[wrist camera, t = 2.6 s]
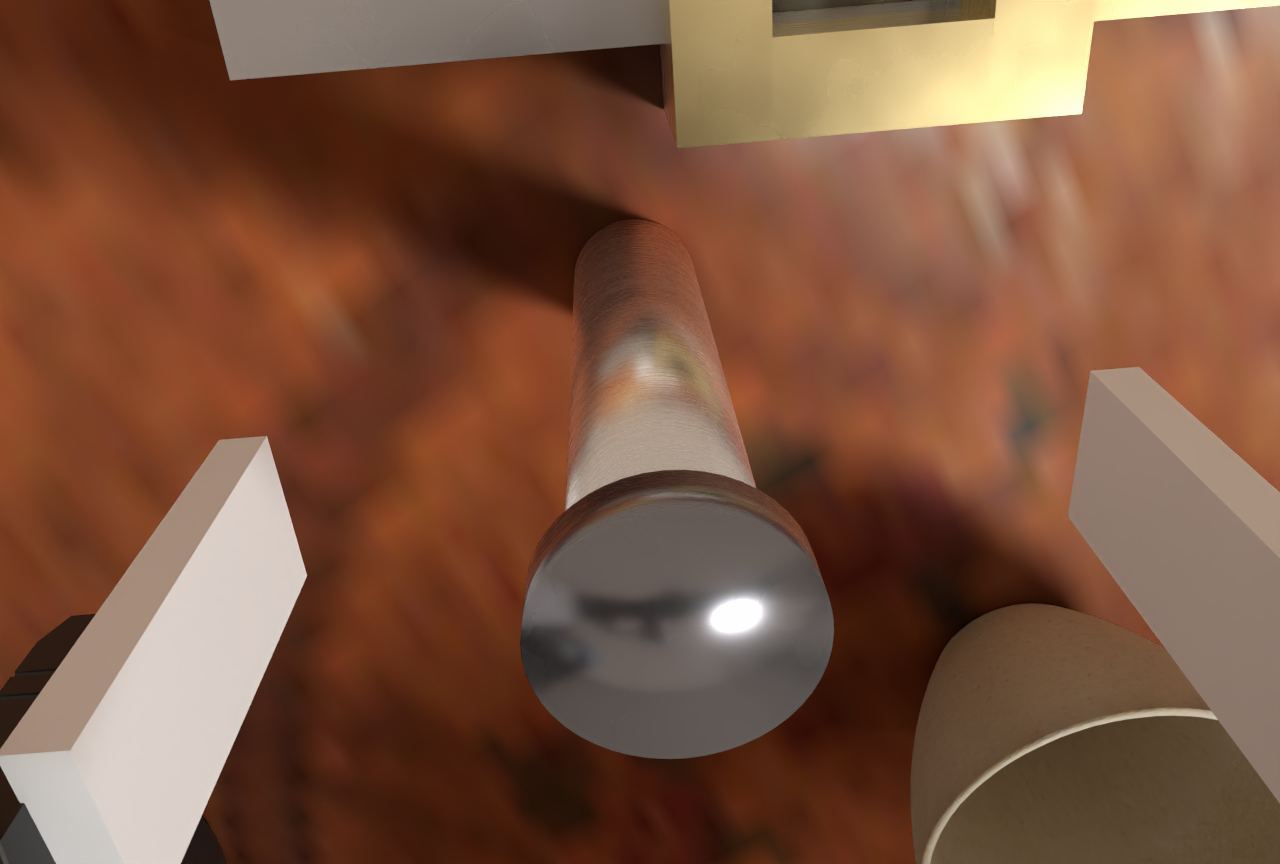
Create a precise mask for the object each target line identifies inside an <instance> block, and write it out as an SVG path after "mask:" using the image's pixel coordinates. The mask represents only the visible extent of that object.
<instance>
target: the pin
mask: <svg viewBox="0 0 1280 864" xmlns="http://www.w3.org/2000/svg"><path fill="white" fill-rule="evenodd" d="M833 638H834V620H833V612H832V608H831V603H830V599H829V596H828V593H827V590H826V587H825V585H824V582H823V579H822V576H821V573H820V570H819V567H818V564H817V561H816V558H815V555H814V553H813V550H812V548H811V545H810V543H809V541H808V538H807V537H806V535H805V533H804V532H803V530H802V528H801V527H800V525H799V524H798V523H797V521H796V520H795V519H794V518H793V517H792V516H791V514H790V513H789V512H788V511H787V510H786V509H785V508H783V507H782V506H781V505H780V504H779V503H778V502H777V501H775V500H774V499H773V498H771V497H770V496H768V495H767V494H765V493H763V492H762V491H760V490H759V489H757V488H756V485H755V482H754V478H753V475H752V471H751V468H750V464H749V461H748V457H747V453H746V450H745V446H744V443H743V439H742V436H741V432H740V429H739V425H738V422H737V418H736V415H735V411H734V408H733V404H732V401H731V397H730V394H729V390H728V386H727V383H726V379H725V376H724V372H723V369H722V365H721V362H720V358H719V355H718V351H717V348H716V344H715V341H714V337H713V334H712V330H711V327H710V323H709V320H708V316H707V312H706V309H705V305H704V302H703V298H702V295H701V291H700V288H699V284H698V281H697V277H696V274H695V270H694V267H693V263H692V260H691V257H690V254H689V252H688V250H687V248H686V246H685V245H684V243H683V242H682V241H681V240H680V238H679V237H678V236H677V235H675V234H674V233H673V232H672V231H671V230H669V229H668V228H666V227H664V226H662V225H660V224H658V223H655V222H652V221H648V220H642V219H628V220H621V221H618V222H614V223H612V224H610V225H607V226H605V227H604V228H602V229H600V230H599V231H598V232H596V233H595V234H594V235H593V236H592V237H591V238H590V239H589V240H588V241H587V243H586V244H585V245H584V247H583V248H582V250H581V252H580V254H579V257H578V259H577V262H576V267H575V275H574V300H573V326H572V351H571V377H570V402H569V428H568V453H567V479H566V504H565V512H564V513H563V514H562V515H561V516H559V517H558V518H557V519H556V521H555V522H554V523H553V524H552V525H551V527H550V528H549V529H548V530H547V531H546V533H545V534H544V536H543V538H542V539H541V541H540V542H539V544H538V546H537V547H536V550H535V552H534V554H533V557H532V559H531V561H530V565H529V569H528V573H527V577H526V585H525V596H524V607H523V618H522V629H521V640H520V645H521V657H522V662H523V666H524V670H525V674H526V676H527V678H528V681H529V683H530V685H531V687H532V689H533V691H534V693H535V694H536V696H537V697H538V699H539V700H540V702H541V703H542V704H543V706H544V707H545V708H546V709H547V710H548V711H549V713H550V714H551V715H552V716H553V717H555V718H556V719H557V720H558V721H559V722H560V723H561V724H562V725H564V726H565V727H566V728H568V729H569V730H571V731H572V732H574V733H575V734H577V735H578V736H580V737H582V738H584V739H586V740H588V741H590V742H592V743H594V744H596V745H599V746H601V747H604V748H606V749H609V750H612V751H616V752H619V753H623V754H627V755H632V756H638V757H645V758H657V759H681V758H692V757H699V756H706V755H710V754H715V753H719V752H723V751H726V750H729V749H732V748H735V747H738V746H741V745H743V744H745V743H748V742H750V741H752V740H754V739H756V738H759V737H760V736H762V735H764V734H765V733H767V732H769V731H771V730H772V729H774V728H775V727H777V726H778V725H779V724H781V723H782V722H783V721H785V720H786V719H787V718H789V717H790V716H791V715H792V714H793V713H794V712H795V711H796V710H797V709H798V708H799V707H800V706H802V704H803V703H804V702H805V701H806V700H807V698H808V697H809V696H810V695H811V694H812V692H813V691H814V689H815V688H816V686H817V684H818V683H819V681H820V680H821V678H822V676H823V673H824V671H825V669H826V667H827V664H828V662H829V658H830V654H831V651H832V647H833Z"/></svg>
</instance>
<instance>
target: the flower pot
mask: <svg viewBox="0 0 1280 864" xmlns="http://www.w3.org/2000/svg"><path fill="white" fill-rule="evenodd" d="M910 796H911V823H912V835H913V845H914V853H915V860H916V864H1280V803H1279V802H1278V800H1277V799H1276V798H1275V796H1274V795H1273V794H1272V792H1271V791H1270V789H1269V788H1268V787H1267V785H1266V784H1265V783H1264V781H1263V780H1262V779H1261V777H1260V776H1259V775H1258V773H1257V772H1256V771H1255V769H1254V768H1253V766H1252V765H1251V764H1250V762H1249V761H1248V760H1247V758H1246V757H1245V756H1244V754H1243V753H1242V752H1241V750H1240V749H1239V748H1238V746H1237V745H1236V743H1235V742H1234V741H1233V739H1232V738H1231V737H1230V735H1229V734H1228V733H1227V731H1226V730H1225V729H1224V727H1223V726H1222V724H1221V723H1220V722H1219V720H1218V719H1217V718H1216V716H1215V715H1214V714H1213V712H1212V711H1211V710H1210V708H1209V707H1208V706H1207V704H1206V703H1205V701H1204V700H1203V699H1202V697H1201V696H1200V695H1199V693H1198V692H1197V691H1196V689H1195V688H1194V687H1193V685H1192V684H1191V683H1190V681H1189V680H1188V678H1187V677H1186V676H1185V674H1184V673H1183V672H1182V670H1181V669H1180V668H1179V666H1178V665H1177V664H1176V662H1175V661H1174V660H1173V658H1172V657H1171V655H1170V654H1169V653H1168V651H1167V650H1166V649H1165V648H1163V647H1162V646H1160V645H1158V644H1156V643H1154V642H1152V641H1150V640H1148V639H1146V638H1144V637H1142V636H1140V635H1138V634H1136V633H1134V632H1132V631H1130V630H1127V629H1125V628H1122V627H1120V626H1118V625H1115V624H1113V623H1111V622H1108V621H1106V620H1103V619H1100V618H1097V617H1094V616H1091V615H1088V614H1085V613H1082V612H1078V611H1074V610H1071V609H1067V608H1063V607H1059V606H1054V605H1047V604H1035V603H1029V604H1018V605H1011V606H1007V607H1004V608H1000V609H997V610H994V611H991V612H989V613H987V614H984V615H982V616H981V617H979V618H977V619H975V620H973V621H972V622H970V623H969V624H968V625H966V626H965V627H964V628H963V629H961V630H960V631H959V632H958V633H957V634H956V635H955V636H953V638H952V639H951V640H950V641H949V642H948V644H947V645H946V646H945V648H944V650H943V651H942V653H941V655H940V657H939V659H938V661H937V663H936V665H935V668H934V670H933V673H932V675H931V678H930V680H929V683H928V686H927V689H926V692H925V695H924V698H923V702H922V705H921V709H920V714H919V718H918V723H917V728H916V734H915V740H914V747H913V755H912V766H911V784H910Z"/></svg>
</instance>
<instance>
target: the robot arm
mask: <svg viewBox="0 0 1280 864" xmlns="http://www.w3.org/2000/svg"><path fill="white" fill-rule="evenodd" d="M1068 517H1069V519H1070V520H1071V521H1072V523H1073V524H1074V525H1075V527H1076V528H1077V530H1078V531H1079V532H1080V534H1081V535H1082V536H1083V538H1084V539H1085V540H1086V542H1087V543H1088V544H1089V546H1090V547H1091V549H1092V550H1093V551H1094V553H1095V554H1096V555H1097V557H1098V558H1099V559H1100V561H1101V562H1102V563H1103V565H1104V566H1105V567H1106V569H1107V570H1108V572H1109V573H1110V574H1111V576H1112V577H1113V578H1114V580H1115V581H1116V582H1117V584H1118V585H1119V586H1120V588H1121V589H1122V590H1123V592H1124V593H1125V595H1126V596H1127V597H1128V599H1129V600H1130V601H1131V603H1132V604H1133V605H1134V607H1135V608H1136V609H1137V611H1138V612H1139V613H1140V615H1141V616H1142V618H1143V619H1144V620H1145V622H1146V623H1147V624H1148V626H1149V627H1150V628H1151V630H1152V631H1153V632H1154V634H1155V635H1156V636H1157V638H1158V639H1159V641H1160V642H1161V643H1162V645H1163V646H1164V647H1165V649H1166V650H1167V651H1168V653H1169V654H1170V655H1171V657H1172V658H1173V660H1174V661H1175V662H1176V664H1177V665H1178V666H1179V668H1180V669H1181V670H1182V672H1183V673H1184V674H1185V676H1186V677H1187V678H1188V680H1189V681H1190V683H1191V684H1192V685H1193V687H1194V688H1195V689H1196V691H1197V692H1198V693H1199V695H1200V696H1201V697H1202V699H1203V700H1204V701H1205V703H1206V704H1207V706H1208V707H1209V708H1210V710H1211V711H1212V712H1213V714H1214V715H1215V716H1216V718H1217V719H1218V720H1219V722H1220V723H1221V724H1222V726H1223V727H1224V729H1225V730H1226V731H1227V733H1228V734H1229V735H1230V737H1231V738H1232V739H1233V741H1234V742H1235V743H1236V745H1237V746H1238V748H1239V749H1240V750H1241V752H1242V753H1243V754H1244V756H1245V757H1246V758H1247V760H1248V761H1249V762H1250V764H1251V765H1252V766H1253V768H1254V769H1255V771H1256V772H1257V773H1258V775H1259V776H1260V777H1261V779H1262V780H1263V781H1264V783H1265V784H1266V785H1267V787H1268V788H1269V789H1270V791H1271V792H1272V794H1273V795H1274V796H1275V798H1276V799H1277V800H1278V802H1279V803H1280V492H1279V491H1277V490H1276V489H1275V488H1274V487H1273V486H1272V485H1271V484H1270V483H1268V482H1267V481H1266V480H1265V479H1264V478H1263V477H1262V476H1261V475H1260V474H1258V473H1257V472H1256V471H1255V470H1254V469H1253V468H1252V467H1251V466H1249V465H1248V464H1247V463H1246V462H1245V461H1244V460H1243V459H1242V458H1240V457H1239V456H1238V455H1237V454H1236V453H1235V452H1234V451H1233V450H1231V449H1230V448H1229V447H1228V446H1227V445H1226V444H1225V443H1224V442H1223V441H1221V440H1220V439H1219V438H1218V437H1217V436H1216V435H1215V434H1214V433H1212V432H1211V431H1210V430H1209V429H1208V428H1207V427H1206V426H1205V425H1203V424H1202V423H1201V422H1200V421H1199V420H1198V419H1197V418H1196V417H1194V416H1193V415H1192V414H1191V413H1190V412H1189V411H1188V410H1187V409H1186V408H1184V407H1183V406H1182V405H1181V404H1180V403H1179V402H1178V401H1177V400H1175V399H1174V398H1173V397H1172V396H1171V395H1170V394H1169V393H1168V392H1166V391H1165V390H1164V389H1163V388H1162V387H1161V386H1160V385H1159V384H1157V383H1156V382H1155V381H1154V380H1153V379H1152V378H1151V377H1150V376H1149V375H1147V374H1146V373H1145V372H1144V371H1143V370H1142V369H1141V368H1140V367H1132V368H1119V369H1107V370H1094V371H1090V377H1089V383H1088V390H1087V396H1086V403H1085V409H1084V416H1083V422H1082V428H1081V435H1080V441H1079V448H1078V454H1077V461H1076V467H1075V473H1074V480H1073V486H1072V493H1071V499H1070V505H1069V512H1068ZM306 577H307V574H306V570H305V567H304V563H303V560H302V556H301V553H300V549H299V546H298V542H297V539H296V535H295V532H294V528H293V525H292V521H291V518H290V515H289V511H288V508H287V504H286V501H285V497H284V494H283V490H282V487H281V483H280V480H279V476H278V473H277V469H276V466H275V462H274V459H273V455H272V452H271V449H270V445H269V442H268V438H267V436H262V437H250V438H237V439H224V440H219V441H218V442H217V444H216V445H215V447H214V448H213V449H212V451H211V452H210V454H209V455H208V457H207V458H206V459H205V461H204V462H203V464H202V465H201V466H200V468H199V469H198V471H197V472H196V473H195V475H194V476H193V478H192V479H191V481H190V482H189V483H188V485H187V486H186V488H185V489H184V490H183V492H182V493H181V495H180V496H179V497H178V499H177V500H176V502H175V503H174V505H173V506H172V507H171V509H170V510H169V512H168V513H167V514H166V516H165V517H164V519H163V520H162V521H161V523H160V524H159V526H158V527H157V529H156V530H155V531H154V533H153V534H152V536H151V537H150V538H149V540H148V541H147V543H146V544H145V545H144V547H143V548H142V550H141V551H140V552H139V554H138V555H137V557H136V558H135V560H134V561H133V562H132V564H131V565H130V567H129V568H128V569H127V571H126V572H125V574H124V575H123V576H122V578H121V579H120V581H119V582H118V584H117V585H116V586H115V588H114V589H113V591H112V592H111V593H110V595H109V596H108V598H107V599H106V600H105V602H104V603H103V605H102V606H101V608H100V609H99V610H98V612H97V613H96V614H90V615H77V616H71V617H70V618H68V619H67V620H66V621H64V622H63V623H62V624H60V625H59V626H58V627H57V628H55V629H54V630H53V631H51V632H50V633H49V634H47V635H46V636H45V637H44V638H42V639H41V640H40V641H38V642H37V643H36V645H35V646H34V647H33V648H32V650H31V651H30V652H29V654H28V655H27V656H26V658H25V659H24V660H23V662H22V663H21V664H20V666H19V667H18V668H17V670H16V671H15V677H10V679H9V680H8V681H7V683H6V684H5V685H4V687H3V688H2V689H1V691H0V864H227V863H226V860H225V858H224V855H223V852H222V850H221V848H220V845H219V843H218V841H217V839H216V838H215V836H214V834H213V832H212V831H211V829H210V828H209V826H208V825H207V823H206V822H205V820H204V819H203V818H202V817H201V816H202V814H203V812H204V809H205V807H206V805H207V803H208V800H209V798H210V796H211V794H212V791H213V789H214V787H215V784H216V782H217V780H218V778H219V775H220V773H221V771H222V768H223V766H224V764H225V762H226V759H227V757H228V755H229V753H230V750H231V748H232V746H233V743H234V741H235V739H236V737H237V734H238V732H239V730H240V727H241V725H242V723H243V721H244V718H245V716H246V714H247V712H248V709H249V707H250V705H251V702H252V700H253V698H254V696H255V693H256V691H257V689H258V686H259V684H260V682H261V680H262V677H263V675H264V673H265V671H266V668H267V666H268V664H269V661H270V659H271V657H272V655H273V652H274V650H275V648H276V645H277V643H278V641H279V639H280V636H281V634H282V632H283V629H284V627H285V625H286V623H287V620H288V618H289V616H290V614H291V611H292V609H293V607H294V604H295V602H296V600H297V598H298V595H299V593H300V591H301V588H302V586H303V584H304V582H305V579H306Z"/></svg>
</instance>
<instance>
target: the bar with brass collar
mask: <svg viewBox="0 0 1280 864" xmlns="http://www.w3.org/2000/svg"><path fill="white" fill-rule="evenodd" d="M209 1H210V4H211V8H212V12H213V16H214V20H215V24H216V28H217V32H218V36H219V40H220V43H221V47H222V51H223V55H224V59H225V63H226V67H227V71H228V75H229V78H230V80H241V79H253V78H265V77H277V76H288V75H300V74H312V73H324V72H335V71H347V70H359V69H371V68H383V67H394V66H406V65H418V64H430V63H441V62H453V61H465V60H477V59H488V58H500V57H512V56H524V55H536V54H547V53H559V52H571V51H583V50H594V49H606V48H618V47H630V46H641V45H653V44H660V52H661V68H662V85H663V101H664V112H665V114H666V117H667V120H668V123H669V126H670V128H671V131H672V134H673V137H674V140H675V143H676V145H677V148H686V147H698V146H709V145H721V144H733V143H744V142H756V141H768V140H779V139H791V138H803V137H815V136H826V135H838V134H850V133H861V132H873V131H885V130H896V129H908V128H920V127H932V126H943V125H955V124H967V123H978V122H990V121H1002V120H1014V119H1025V118H1037V117H1049V116H1060V115H1072V114H1082V108H1083V100H1084V93H1085V85H1086V77H1087V70H1088V62H1089V55H1090V47H1091V39H1092V32H1093V24H1094V21H1102V20H1113V19H1125V18H1137V17H1149V16H1160V15H1172V14H1184V13H1196V12H1208V11H1219V10H1231V9H1243V8H1255V7H1266V6H1278V5H1280V0H918V1H906V2H894V3H883V4H871V5H859V6H847V7H836V8H824V9H812V10H800V11H788V12H777V13H772V0H209Z"/></svg>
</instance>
